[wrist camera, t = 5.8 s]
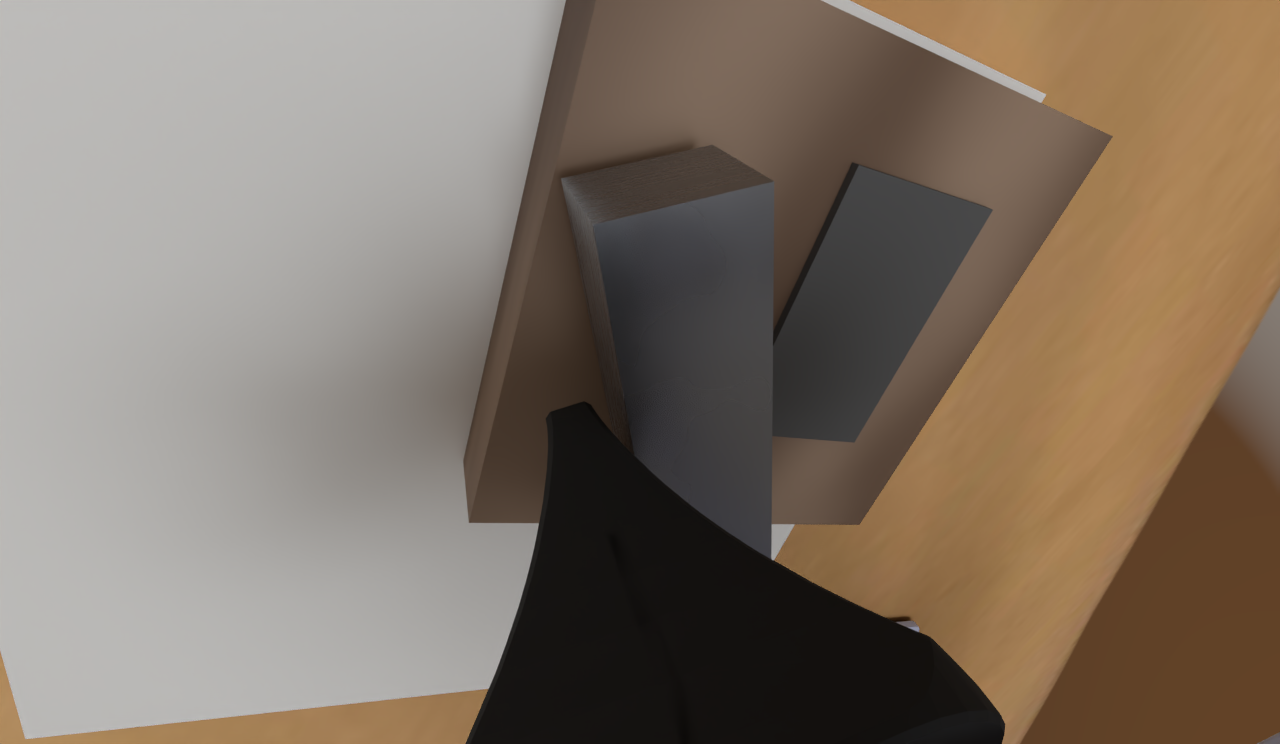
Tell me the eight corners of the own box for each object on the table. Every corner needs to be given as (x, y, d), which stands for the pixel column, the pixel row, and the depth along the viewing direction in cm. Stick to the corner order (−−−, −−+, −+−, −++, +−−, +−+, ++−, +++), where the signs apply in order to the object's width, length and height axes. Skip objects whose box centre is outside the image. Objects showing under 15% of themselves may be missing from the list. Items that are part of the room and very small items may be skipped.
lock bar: (751, 651, 18) (783, 717, 17) (651, 689, 18) (674, 761, 16) (736, 139, 9) (803, 173, 8) (534, 184, 9) (560, 232, 7)
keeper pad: (985, 206, 12) (993, 209, 12) (849, 437, 15) (854, 442, 15) (852, 162, 11) (859, 164, 11) (728, 427, 13) (732, 433, 13)
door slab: (1033, 116, 14) (1112, 136, 12) (822, 477, 19) (859, 524, 17) (584, -84, 9) (619, -94, 8) (463, 461, 14) (468, 523, 13)
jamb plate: (1011, 87, 14) (1045, 94, 14) (703, 640, 24) (712, 664, 23) (-249, -504, 6) (-345, -571, 5) (45, 700, 16) (24, 739, 15)
